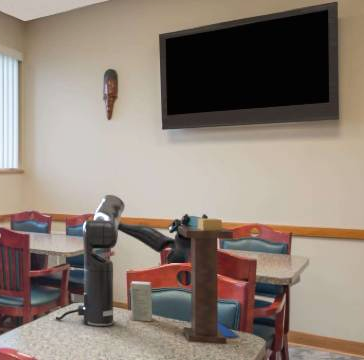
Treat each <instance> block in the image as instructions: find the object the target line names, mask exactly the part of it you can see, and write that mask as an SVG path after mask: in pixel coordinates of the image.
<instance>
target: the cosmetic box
mask: <svg viewBox="0 0 364 360" xmlns="http://www.w3.org/2000/svg"><path fill="white" fill-rule="evenodd" d="M152 299H153V298H152V282H151V281H136V280H133V281H131V282H130V304H131V306H130V307H131V310H130V311H131V320H132V321H142V322H152V320H153V302H152V301H153V300H152Z"/></svg>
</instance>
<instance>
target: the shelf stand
mask: <svg viewBox="0 0 364 360" xmlns="http://www.w3.org/2000/svg"><path fill="white" fill-rule="evenodd" d="M178 233H180V234H181V235H183V236H185V237H186V238H191V259H190V327H187V326H186V327H185V326H184V327H183V328H182V329H183V330H182V331H183V332H182V333H183V334H184V336H185V338H186V339H187V340H188V342H200V343H214V344H215V343H216V344H227V337H225V336H224V335H223V334H222V332H221V331H220V330H219V329H218V322H219V321H218V320H219V315H218V314H219V313H218V311H219V309H218V308H219V307H218V305H219V302H218V301H219V300H218V299H219V298H218V293H219V291H218V287H219V285H218V281H219V280H218V275H219V274H218V269H219V268H218V261H219V259H218V255H219V254H218V250H219V249H218V242H219V241H218V239H221V240H222V239H223V240H227V239H228V240H233V239H234V232H233V230H230V229H227V228H224V227H222V231H208V230H200V229H198V228H197V227H194V226H178Z"/></svg>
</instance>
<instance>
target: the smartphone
mask: <svg viewBox="0 0 364 360" xmlns="http://www.w3.org/2000/svg"><path fill="white" fill-rule="evenodd" d="M218 329H219V330H220V331H221V332H222V334H223V335H224V336H225V337H226V339H228V338H229V339H230V338H231V339H233V338H234V339H236V338H238V335H237V334H236V333H234V332H233V331H232V330H230V329H229V328H228V327H226V326H225V325H224V324H222V323H221V322H220V321H218Z"/></svg>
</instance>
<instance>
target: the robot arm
mask: <svg viewBox="0 0 364 360" xmlns="http://www.w3.org/2000/svg"><path fill="white" fill-rule="evenodd" d="M125 207H126V205H125V202H124V201H123V200H122V199H121V198H120V197H118V196H116V195H114V194H106V195H105V196H103V198H102V199H101V201H100V203H99V204H98V207H97V209H96V210H95V213H94V216H93V219H87V220H85V221H84V222H83V226H82V241H83V243H82V244H83V305H78V306H77V308H76V309H73V310H68V311H66V312H64V313H63V314H62V315H61V316H55V320H57V321H61V320H62V319H64V318H65V317H66V316H67V315H70V314H76V313H77V315H78V316H80V317H81V316H82V317H83V325H89V326H94V327H108V326H109V327H110V326H112V325H113V324H114V263H113V261H112V260H111V259H109V258H106V257H103V256H102V255H99V254H98V253H97V252H96V251H95V249H97V250H100V249H101V250H110V249H113V248H115V246H116V245H117V243H118V237H119V232H122V233H123V234H124V235H125V234H126V235H127V236H129V237H132V238H133V239H136V240H137V241H139V242H141V243H143V244H144V245H145V246H147V247H148V248H149V249H151V250H153V251H155V252H156V253H162V252H163V251H165V250H167V249H170V250H169V251H168V253H167V255H166V257H165V261H166V263H167V265H168V264H170V263H187V264H188V263H189V262H190V261H191V238H186V237H185V236H183V235H181V234H180V233H178V226H191V225H188V224H187V222H188V216H189V214H188V213H185V214H184V215H182V217H181V218H180V219H178V218H176V219H174V220H173V221H172V222H171V223H170V224H169V225H168V231H169V233H170V234H173V233H175V232H176V233H175V235H174V237H173V238H172V237H169V236H167V235H165V234H163V233H162V232H160V231H159V230H158V229H156V228H154V227H152V226H150V225H144V224H143V225H142V224H128V223H124V222H122V221H121V218H122V214H123V212H124V210H125ZM201 218H204V219H209V217H208V215H207V214H206V213H204V214H202V216H201Z"/></svg>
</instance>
